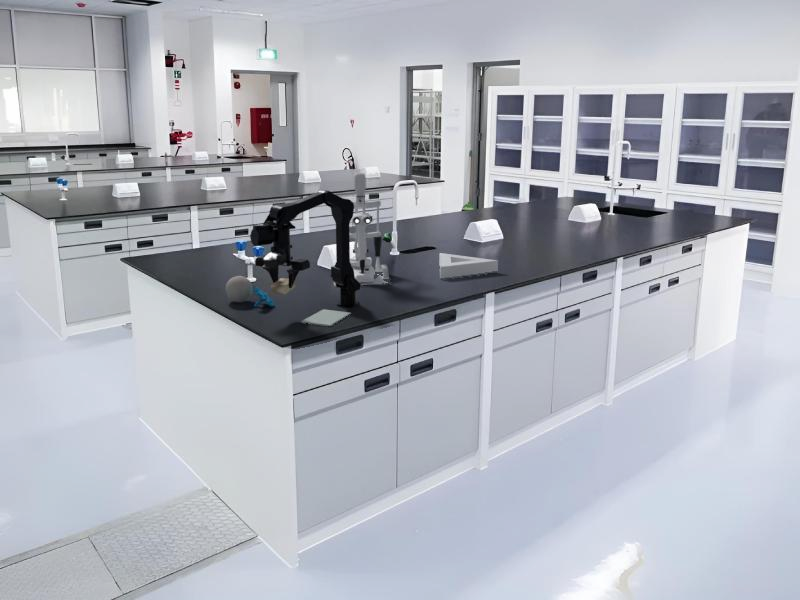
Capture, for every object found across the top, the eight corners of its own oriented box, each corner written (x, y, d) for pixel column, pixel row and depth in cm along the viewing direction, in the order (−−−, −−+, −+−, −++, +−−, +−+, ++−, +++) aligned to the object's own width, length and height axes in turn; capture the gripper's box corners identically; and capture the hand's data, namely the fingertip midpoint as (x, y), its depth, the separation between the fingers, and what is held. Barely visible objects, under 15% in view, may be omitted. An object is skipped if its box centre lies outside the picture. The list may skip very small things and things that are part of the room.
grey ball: (227, 306, 256) (225, 280, 254) (225, 299, 266) (224, 273, 263) (254, 304, 259) (253, 278, 256) (252, 297, 268) (251, 272, 266)
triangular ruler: (439, 266, 328) (439, 252, 327) (494, 267, 327) (495, 253, 326) (440, 281, 299) (440, 266, 298) (500, 282, 298) (501, 267, 297)
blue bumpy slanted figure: (273, 306, 251) (253, 286, 250) (262, 317, 252) (242, 298, 251) (278, 302, 262) (258, 283, 261) (267, 313, 263) (247, 294, 262)
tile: (271, 293, 236) (270, 284, 235) (281, 286, 246) (281, 278, 245) (285, 294, 235) (285, 285, 235) (295, 287, 245) (294, 278, 244)
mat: (323, 310, 252) (323, 309, 252) (350, 314, 248) (350, 312, 248) (301, 322, 237) (301, 321, 237) (330, 326, 234) (330, 325, 233)
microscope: (334, 287, 285) (332, 176, 273) (331, 272, 311) (330, 170, 299) (392, 286, 288) (393, 176, 276) (385, 271, 314) (385, 170, 302)
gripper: (244, 244, 232) (247, 289, 237) (293, 249, 226) (294, 295, 230) (263, 239, 242) (265, 282, 247) (310, 243, 235) (311, 288, 240)
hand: (283, 287), depth 240 cm, fingers closed on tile, 5 cm apart
